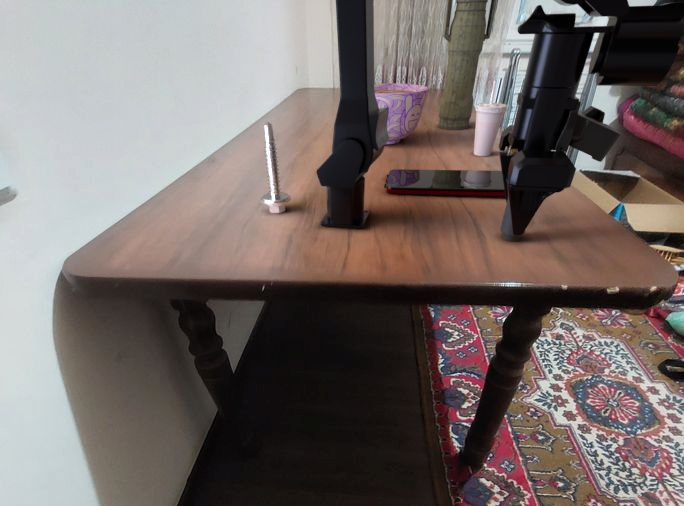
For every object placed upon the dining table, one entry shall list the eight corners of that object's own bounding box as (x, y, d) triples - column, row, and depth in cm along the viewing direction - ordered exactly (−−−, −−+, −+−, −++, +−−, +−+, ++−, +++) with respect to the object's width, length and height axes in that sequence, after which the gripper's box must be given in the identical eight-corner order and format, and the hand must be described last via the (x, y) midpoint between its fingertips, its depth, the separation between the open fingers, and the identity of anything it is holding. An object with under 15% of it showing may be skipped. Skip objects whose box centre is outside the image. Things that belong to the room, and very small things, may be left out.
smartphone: (388, 167, 80) (520, 169, 76) (387, 176, 81) (518, 178, 77) (383, 187, 71) (534, 190, 67) (383, 196, 72) (531, 199, 68)
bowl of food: (429, 149, 96) (435, 92, 89) (345, 150, 97) (345, 94, 90) (417, 132, 112) (422, 82, 105) (345, 133, 113) (345, 84, 105)
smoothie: (491, 150, 95) (506, 78, 86) (500, 157, 90) (517, 82, 81) (464, 151, 95) (476, 79, 86) (472, 158, 90) (486, 83, 81)
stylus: (524, 243, 55) (544, 174, 49) (498, 241, 56) (516, 173, 50) (521, 234, 57) (540, 167, 52) (497, 232, 58) (513, 166, 52)
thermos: (428, 124, 120) (447, -39, 98) (467, 122, 121) (494, -39, 99) (437, 130, 113) (459, -43, 91) (478, 128, 114) (510, -44, 92)
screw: (266, 217, 64) (259, 208, 68) (295, 213, 66) (287, 204, 69) (254, 126, 56) (247, 120, 60) (288, 123, 57) (279, 117, 61)
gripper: (662, 98, 37) (595, 256, 46) (607, 76, 51) (564, 201, 60) (531, 96, 39) (494, 248, 49) (513, 76, 53) (487, 197, 63)
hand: (514, 221), depth 55 cm, fingers open, 9 cm apart
